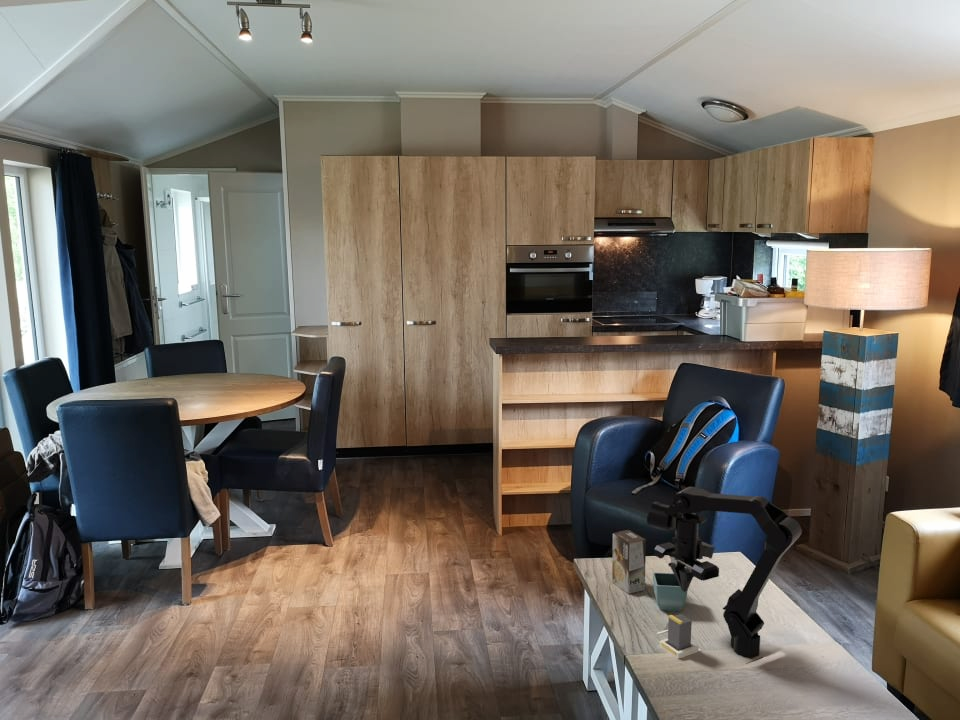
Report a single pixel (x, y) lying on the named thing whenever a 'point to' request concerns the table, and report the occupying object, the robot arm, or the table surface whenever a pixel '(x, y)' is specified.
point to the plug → (679, 632)
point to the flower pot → (668, 592)
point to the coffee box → (629, 561)
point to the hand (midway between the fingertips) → (684, 590)
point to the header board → (674, 652)
